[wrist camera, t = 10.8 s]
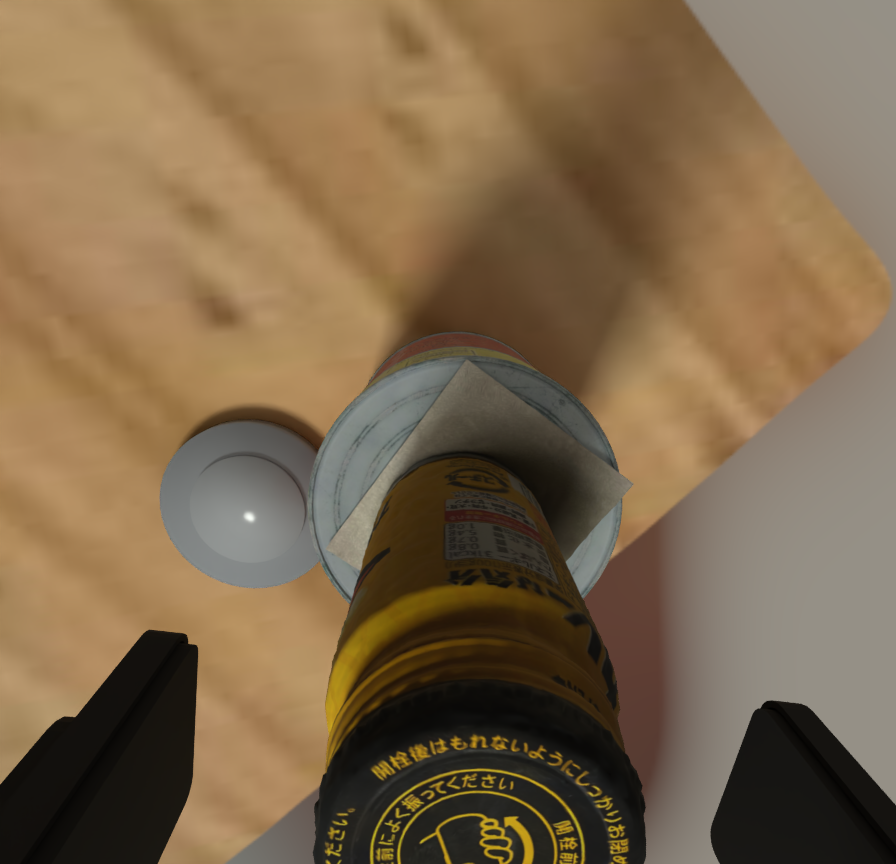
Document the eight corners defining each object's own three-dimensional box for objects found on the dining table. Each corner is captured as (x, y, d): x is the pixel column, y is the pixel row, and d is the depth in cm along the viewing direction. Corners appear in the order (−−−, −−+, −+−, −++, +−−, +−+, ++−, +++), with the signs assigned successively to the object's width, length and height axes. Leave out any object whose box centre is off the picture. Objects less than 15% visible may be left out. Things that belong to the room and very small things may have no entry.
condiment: (326, 546, 20) (165, 903, 8) (466, 358, 18) (512, 472, 7) (485, 649, 21) (541, 1090, 9) (630, 480, 19) (915, 760, 8)
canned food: (498, 552, 33) (530, 692, 21) (326, 475, 32) (260, 580, 20) (590, 386, 31) (682, 443, 19) (408, 295, 29) (387, 296, 18)
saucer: (171, 406, 31) (159, 411, 29) (349, 433, 31) (345, 439, 30) (165, 567, 33) (154, 578, 32) (331, 589, 34) (326, 601, 32)
